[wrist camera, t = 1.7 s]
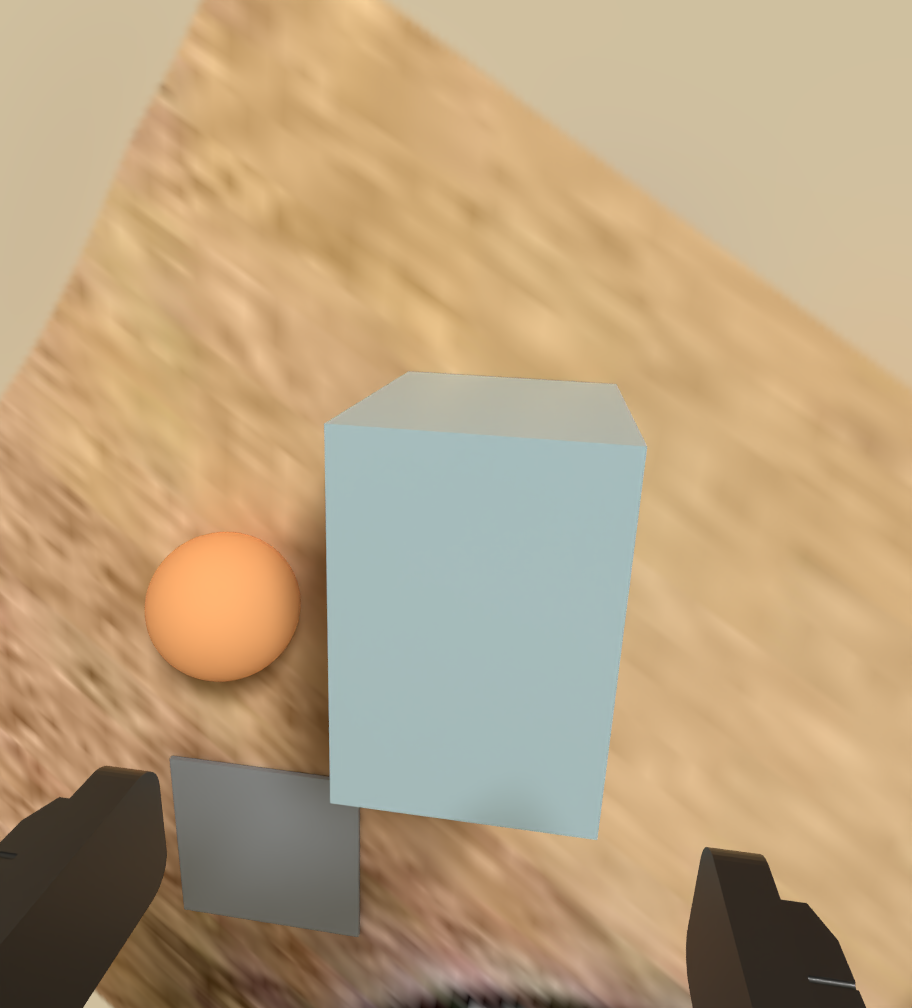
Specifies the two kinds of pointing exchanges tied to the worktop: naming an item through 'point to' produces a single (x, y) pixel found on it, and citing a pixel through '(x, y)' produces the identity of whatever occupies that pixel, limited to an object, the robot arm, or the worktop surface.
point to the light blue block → (479, 596)
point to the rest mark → (266, 846)
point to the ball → (222, 606)
